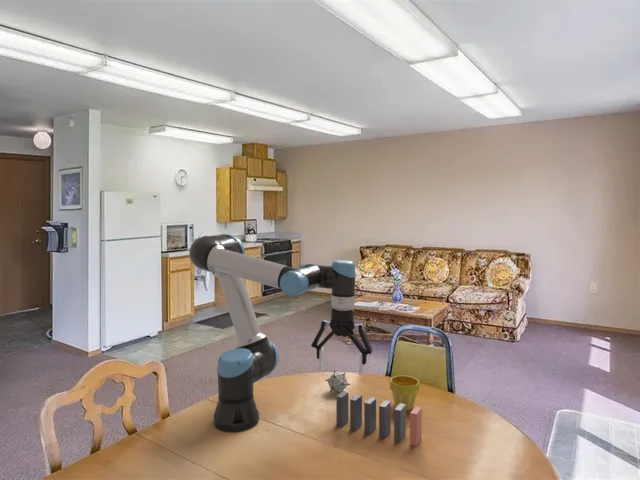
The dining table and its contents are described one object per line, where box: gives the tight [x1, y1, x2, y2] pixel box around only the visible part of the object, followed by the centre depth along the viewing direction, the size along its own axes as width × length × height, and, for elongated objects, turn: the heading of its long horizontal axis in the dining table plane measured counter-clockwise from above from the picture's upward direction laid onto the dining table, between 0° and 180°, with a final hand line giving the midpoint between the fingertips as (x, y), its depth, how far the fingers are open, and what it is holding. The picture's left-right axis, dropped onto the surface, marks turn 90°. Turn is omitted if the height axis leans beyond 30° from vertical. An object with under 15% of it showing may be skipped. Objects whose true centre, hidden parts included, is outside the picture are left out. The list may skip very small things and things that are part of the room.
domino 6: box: [409, 405, 423, 447], centre depth 139 cm, size 2×5×10 cm, turn 151°
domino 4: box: [378, 399, 392, 439], centre depth 144 cm, size 2×5×10 cm, turn 151°
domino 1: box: [335, 390, 350, 428], centre depth 152 cm, size 2×5×10 cm, turn 151°
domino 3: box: [363, 396, 377, 435], centre depth 147 cm, size 2×5×10 cm, turn 151°
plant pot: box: [389, 374, 420, 412], centre depth 164 cm, size 10×10×10 cm
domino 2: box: [349, 393, 363, 432], centre depth 149 cm, size 2×5×10 cm, turn 151°
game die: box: [325, 370, 351, 394], centre depth 177 cm, size 9×8×10 cm
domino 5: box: [393, 403, 407, 443], centre depth 142 cm, size 2×5×10 cm, turn 151°
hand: (340, 370), depth 151 cm, fingers open, 13 cm apart
